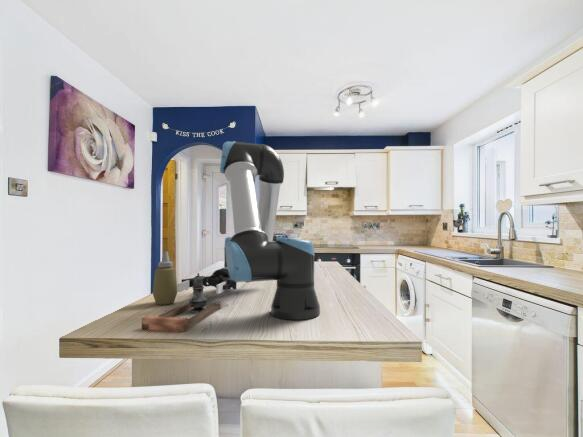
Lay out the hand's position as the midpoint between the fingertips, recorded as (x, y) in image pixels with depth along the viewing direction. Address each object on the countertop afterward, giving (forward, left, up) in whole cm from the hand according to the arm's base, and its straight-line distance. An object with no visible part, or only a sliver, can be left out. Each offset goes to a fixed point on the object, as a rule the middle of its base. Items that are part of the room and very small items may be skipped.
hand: (197, 288), depth 97 cm
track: (0, +8, -7) cm, 10 cm away
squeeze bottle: (+16, -7, -7) cm, 18 cm away
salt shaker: (0, 0, -7) cm, 7 cm away
